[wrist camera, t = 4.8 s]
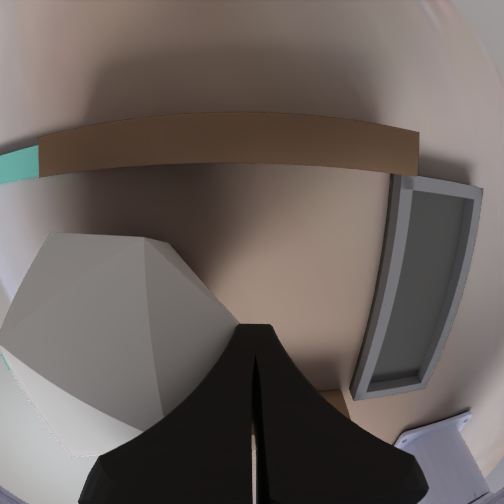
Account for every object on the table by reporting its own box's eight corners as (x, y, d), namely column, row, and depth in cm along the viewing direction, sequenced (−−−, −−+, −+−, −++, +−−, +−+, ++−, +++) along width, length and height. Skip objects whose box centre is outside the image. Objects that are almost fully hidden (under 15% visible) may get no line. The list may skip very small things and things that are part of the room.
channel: (335, 406, 15) (346, 443, 12) (126, 397, 15) (111, 431, 12) (382, 135, 10) (419, 132, 8) (79, 137, 10) (38, 137, 7)
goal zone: (126, 397, 15) (123, 403, 15) (-10, 356, 15) (-13, 360, 15) (79, 137, 10) (72, 137, 10) (-55, 177, 10) (-61, 179, 10)
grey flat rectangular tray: (418, 378, 15) (425, 388, 14) (349, 389, 15) (353, 400, 14) (470, 185, 11) (483, 188, 10) (390, 171, 11) (401, 173, 10)
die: (142, 376, 15) (232, 501, 8) (4, 338, 10) (-2, 503, 2) (195, 253, 16) (339, 326, 8) (52, 183, 10) (25, 189, 3)
